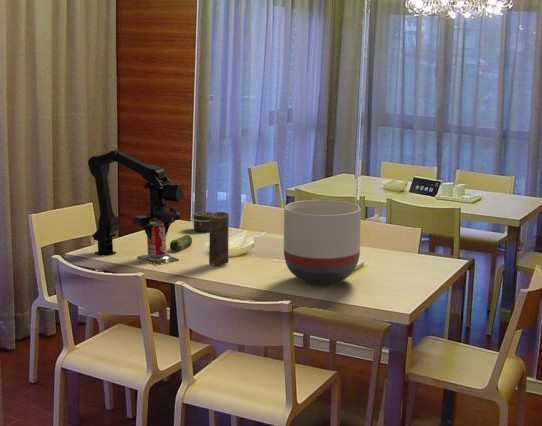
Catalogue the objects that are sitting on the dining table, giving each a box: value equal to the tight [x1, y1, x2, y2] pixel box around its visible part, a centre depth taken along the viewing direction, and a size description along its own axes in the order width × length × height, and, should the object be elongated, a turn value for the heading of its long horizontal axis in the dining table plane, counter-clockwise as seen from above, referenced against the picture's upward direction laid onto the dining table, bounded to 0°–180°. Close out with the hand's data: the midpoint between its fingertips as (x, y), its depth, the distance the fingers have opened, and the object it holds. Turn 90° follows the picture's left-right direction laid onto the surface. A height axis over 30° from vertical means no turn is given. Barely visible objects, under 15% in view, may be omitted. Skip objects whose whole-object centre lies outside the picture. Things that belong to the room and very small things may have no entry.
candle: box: [208, 211, 230, 267], centre depth 312 cm, size 8×7×20 cm
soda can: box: [146, 221, 167, 258], centre depth 321 cm, size 7×7×13 cm
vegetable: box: [169, 234, 193, 253], centre depth 338 cm, size 14×5×5 cm, turn 157°
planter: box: [283, 199, 362, 286], centre depth 290 cm, size 27×27×27 cm
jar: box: [192, 211, 213, 234], centre depth 369 cm, size 10×10×8 cm
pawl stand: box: [136, 253, 180, 265], centre depth 322 cm, size 14×10×1 cm
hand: (157, 239), depth 320 cm, fingers closed on soda can, 6 cm apart
